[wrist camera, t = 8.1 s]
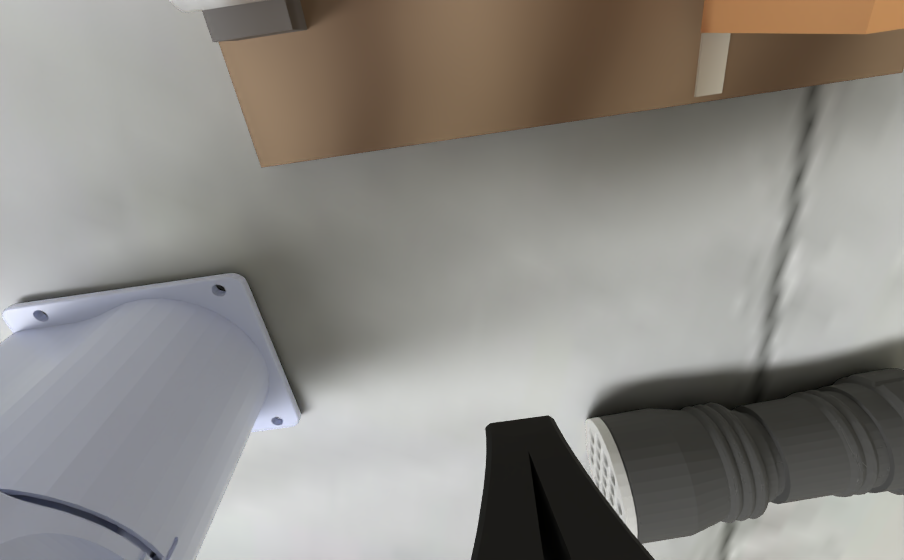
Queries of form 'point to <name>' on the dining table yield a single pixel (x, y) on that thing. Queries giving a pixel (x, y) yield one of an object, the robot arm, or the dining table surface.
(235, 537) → the dining table surface
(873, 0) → the collar
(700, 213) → the dining table surface
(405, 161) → the dining table surface
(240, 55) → the pipe stand
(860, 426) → the flashlight
